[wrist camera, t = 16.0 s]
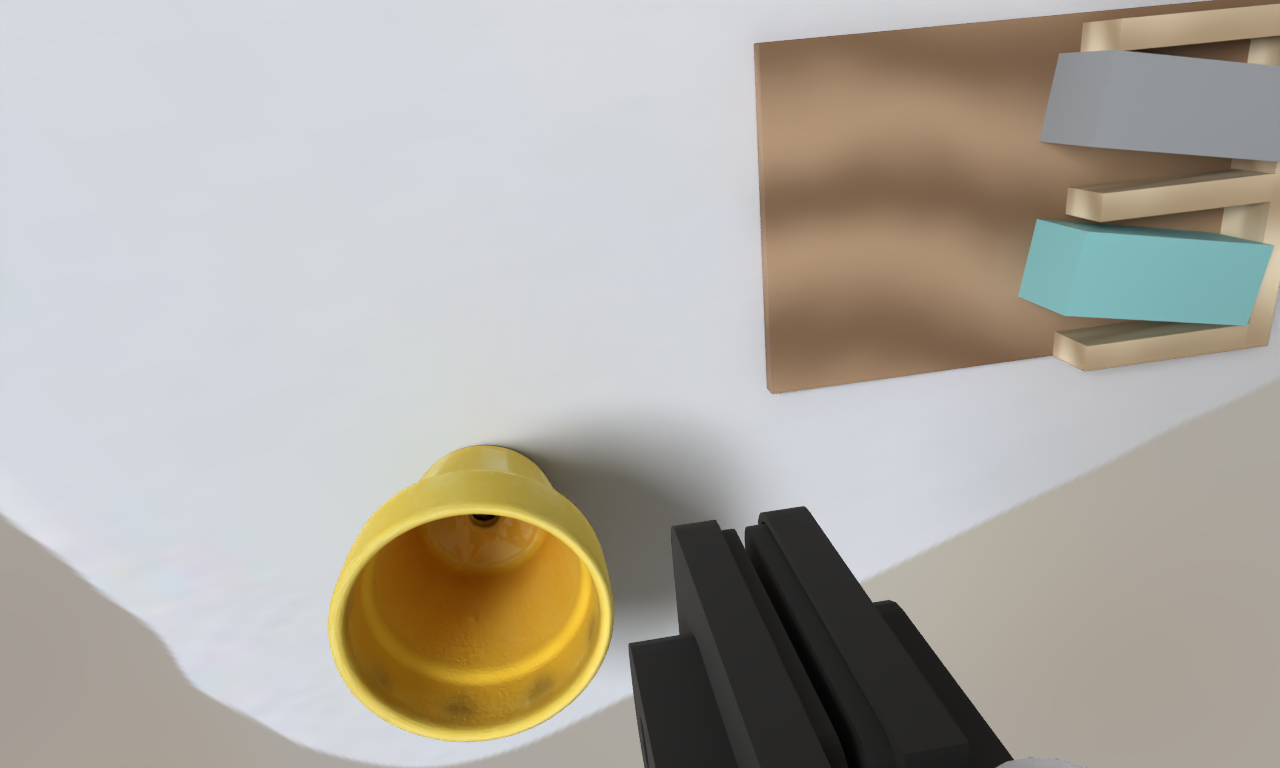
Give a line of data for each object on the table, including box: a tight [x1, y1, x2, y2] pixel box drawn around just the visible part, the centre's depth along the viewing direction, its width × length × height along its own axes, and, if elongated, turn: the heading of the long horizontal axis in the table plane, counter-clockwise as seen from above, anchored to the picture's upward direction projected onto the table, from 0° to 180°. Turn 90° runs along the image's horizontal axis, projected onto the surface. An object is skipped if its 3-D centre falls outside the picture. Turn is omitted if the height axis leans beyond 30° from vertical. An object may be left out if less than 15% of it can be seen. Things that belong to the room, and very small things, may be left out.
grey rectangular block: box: [1039, 50, 1280, 162], centre depth 35 cm, size 4×9×4 cm, turn 85°
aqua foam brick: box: [1018, 219, 1274, 326], centre depth 37 cm, size 4×9×4 cm, turn 85°
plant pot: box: [328, 445, 614, 742], centre depth 35 cm, size 10×10×10 cm
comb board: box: [754, 0, 1280, 394], centre depth 36 cm, size 15×24×3 cm, turn 95°
